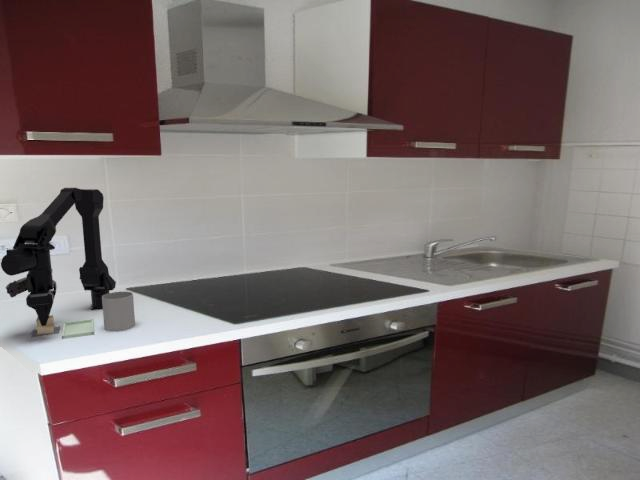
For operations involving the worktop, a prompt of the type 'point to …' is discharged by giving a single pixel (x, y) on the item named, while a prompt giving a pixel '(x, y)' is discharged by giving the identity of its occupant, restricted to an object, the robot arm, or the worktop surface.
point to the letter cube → (45, 329)
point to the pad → (56, 331)
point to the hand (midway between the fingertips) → (45, 321)
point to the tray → (78, 328)
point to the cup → (118, 311)
